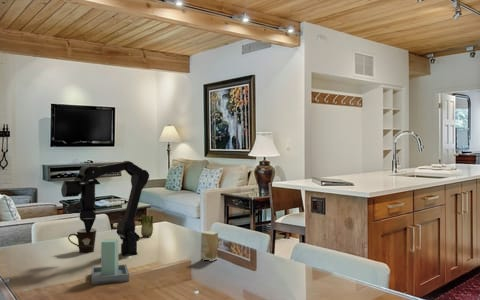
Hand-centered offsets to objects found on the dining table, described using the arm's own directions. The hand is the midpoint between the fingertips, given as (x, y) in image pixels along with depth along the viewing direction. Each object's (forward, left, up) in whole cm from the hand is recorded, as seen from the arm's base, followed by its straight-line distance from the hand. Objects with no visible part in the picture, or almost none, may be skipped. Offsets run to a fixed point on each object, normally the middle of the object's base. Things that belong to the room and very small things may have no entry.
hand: (87, 231), depth 172 cm
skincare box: (-50, +14, -13) cm, 54 cm away
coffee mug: (+2, -19, -13) cm, 23 cm away
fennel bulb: (-30, -40, -13) cm, 52 cm away
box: (-8, +24, -13) cm, 28 cm away
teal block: (-8, +24, -12) cm, 28 cm away
